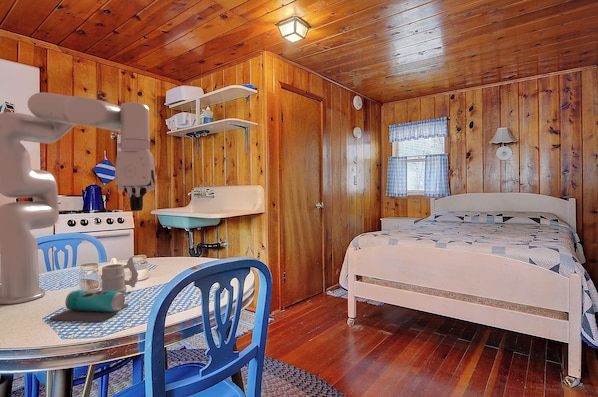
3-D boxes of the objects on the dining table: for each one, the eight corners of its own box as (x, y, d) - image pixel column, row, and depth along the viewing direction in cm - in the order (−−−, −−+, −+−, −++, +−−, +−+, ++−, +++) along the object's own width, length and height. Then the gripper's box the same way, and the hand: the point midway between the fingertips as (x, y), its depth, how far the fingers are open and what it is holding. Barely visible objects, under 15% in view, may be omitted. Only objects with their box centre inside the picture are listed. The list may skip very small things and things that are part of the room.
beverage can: (112, 295, 93) (63, 294, 95) (114, 315, 94) (65, 313, 96) (125, 288, 99) (78, 286, 101) (126, 306, 100) (80, 305, 102)
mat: (50, 319, 93) (50, 317, 93) (82, 304, 104) (82, 302, 104) (101, 321, 91) (100, 319, 91) (128, 306, 103) (128, 304, 103)
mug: (96, 295, 113) (95, 260, 112) (133, 287, 122) (132, 254, 121) (105, 300, 108) (104, 263, 107) (142, 291, 117) (141, 257, 116)
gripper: (102, 145, 94) (103, 211, 95) (152, 145, 93) (153, 212, 93) (120, 148, 102) (121, 209, 103) (166, 148, 100) (167, 210, 101)
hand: (136, 210), depth 98 cm, fingers closed
